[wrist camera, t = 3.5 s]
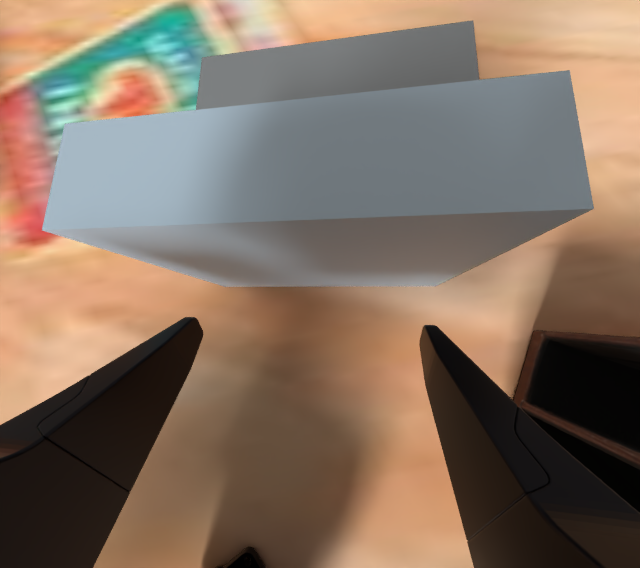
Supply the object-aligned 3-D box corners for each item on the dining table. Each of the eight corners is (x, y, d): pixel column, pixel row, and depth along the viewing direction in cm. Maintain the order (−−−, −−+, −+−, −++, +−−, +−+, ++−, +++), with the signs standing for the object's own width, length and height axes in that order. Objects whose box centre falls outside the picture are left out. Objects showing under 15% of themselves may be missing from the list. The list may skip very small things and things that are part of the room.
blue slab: (435, 286, 18) (593, 208, 6) (225, 286, 20) (41, 230, 8) (432, 233, 18) (569, 70, 7) (229, 239, 21) (64, 123, 9)
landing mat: (488, 204, 18) (491, 202, 18) (186, 217, 21) (183, 215, 21) (470, 26, 21) (473, 20, 20) (204, 61, 24) (202, 57, 24)
